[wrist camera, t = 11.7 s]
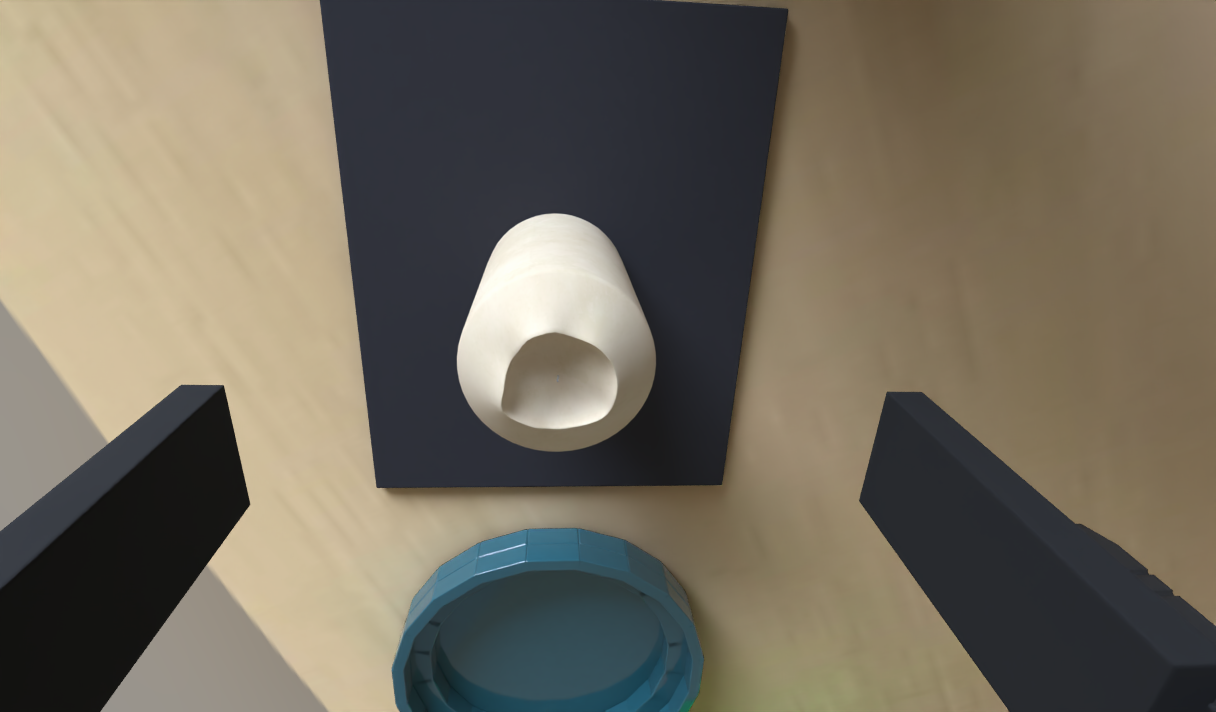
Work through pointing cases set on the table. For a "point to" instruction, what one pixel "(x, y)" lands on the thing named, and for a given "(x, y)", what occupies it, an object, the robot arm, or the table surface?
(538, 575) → the dish
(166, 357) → the table surface
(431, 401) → the mat
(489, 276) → the candle
